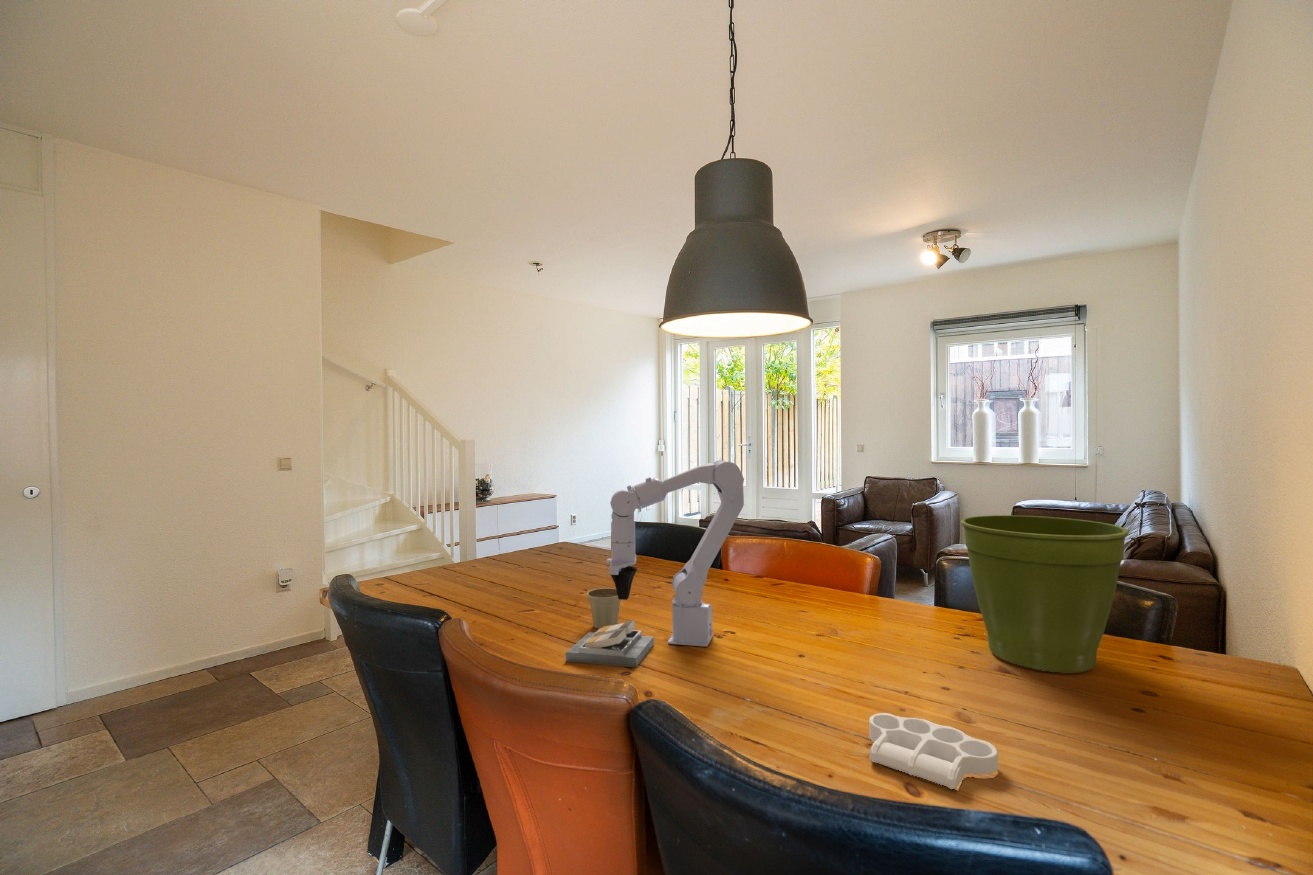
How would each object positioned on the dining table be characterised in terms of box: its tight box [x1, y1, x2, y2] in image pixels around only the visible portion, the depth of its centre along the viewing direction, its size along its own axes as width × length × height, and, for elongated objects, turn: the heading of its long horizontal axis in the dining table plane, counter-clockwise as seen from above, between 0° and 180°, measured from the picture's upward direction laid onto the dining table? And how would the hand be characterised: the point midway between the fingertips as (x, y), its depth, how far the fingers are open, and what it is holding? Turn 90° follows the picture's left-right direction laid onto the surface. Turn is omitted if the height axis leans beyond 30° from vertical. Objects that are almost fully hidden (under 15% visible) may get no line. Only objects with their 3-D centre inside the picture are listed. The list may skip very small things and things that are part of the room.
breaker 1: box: [585, 629, 626, 648], centre depth 130 cm, size 8×4×2 cm, turn 75°
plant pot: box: [960, 514, 1129, 674], centre depth 126 cm, size 30×30×29 cm
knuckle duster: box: [868, 712, 999, 791], centre depth 88 cm, size 3×18×15 cm
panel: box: [565, 628, 655, 668], centre depth 133 cm, size 16×14×3 cm
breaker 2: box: [596, 620, 637, 636], centre depth 137 cm, size 8×4×2 cm, turn 75°
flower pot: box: [586, 587, 622, 630], centre depth 153 cm, size 9×9×9 cm
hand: (623, 598), depth 140 cm, fingers closed
